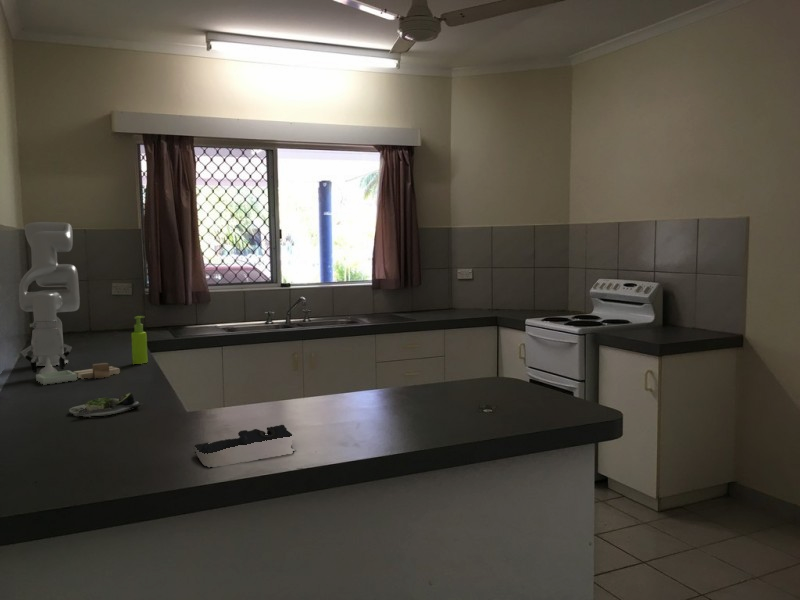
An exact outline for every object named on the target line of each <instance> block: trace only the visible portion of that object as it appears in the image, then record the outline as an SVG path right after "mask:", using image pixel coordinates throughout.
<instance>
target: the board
mask: <svg viewBox="0 0 800 600" xmlns="http://www.w3.org/2000/svg"><path fill="white" fill-rule="evenodd" d="M120 369H121V368H119V367H116V366H113V365H111V366H110V365H109V374H110V376H114V375H113V374H115V375H119V373H120V374H121V370H120ZM73 372H74V373H76V374H77V377H78V378H77V379H79V378H81V379H80V380H85V379H84V378H88V379H94V378H93V368H89V369H82V370H73Z"/></svg>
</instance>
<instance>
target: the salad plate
mask: <svg viewBox="0 0 800 600" xmlns="http://www.w3.org/2000/svg"><path fill="white" fill-rule="evenodd" d="M142 405H143V403H142V402H141V403H140V402H139V401H137V400H135V397H134V395H133V393H132V392H128V393H127V394H125V395H121V396H119V398H111V397H106V396H105V397H99V398H95V399H93V400H88V401H87V402H86V403H85V404H84V403H83V404H81V405H76V406H72V407H71V408H69V409H68V413H69V414H70V415H72V414H73V416H75V417H79V416H83V417H82V418H86V417H89V418H92V417H91V416H104V417H106V416H105V415H111V414H115V413H119V412H122V411H125V410H129V409H132V408H136V407H137V408H138V407H140V406H142ZM85 408H86V409H87V410H86V411H82V412H81V413H79V411H80V410H83V409H85ZM137 408H136V409H137Z"/></svg>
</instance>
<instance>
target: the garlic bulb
mask: <svg viewBox="0 0 800 600" xmlns="http://www.w3.org/2000/svg"><path fill="white" fill-rule="evenodd" d="M51 372H59V371H58V369H57V368H55V366H52V365H51V361H50V357H47V358H46V365H45V367H41V369H40V370H39V372H38V374H43V373H51Z"/></svg>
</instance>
